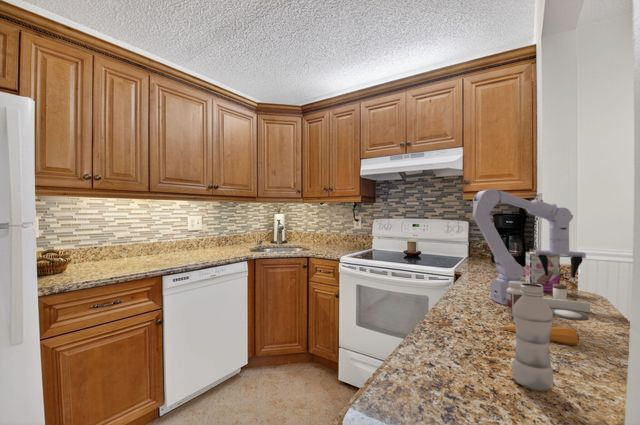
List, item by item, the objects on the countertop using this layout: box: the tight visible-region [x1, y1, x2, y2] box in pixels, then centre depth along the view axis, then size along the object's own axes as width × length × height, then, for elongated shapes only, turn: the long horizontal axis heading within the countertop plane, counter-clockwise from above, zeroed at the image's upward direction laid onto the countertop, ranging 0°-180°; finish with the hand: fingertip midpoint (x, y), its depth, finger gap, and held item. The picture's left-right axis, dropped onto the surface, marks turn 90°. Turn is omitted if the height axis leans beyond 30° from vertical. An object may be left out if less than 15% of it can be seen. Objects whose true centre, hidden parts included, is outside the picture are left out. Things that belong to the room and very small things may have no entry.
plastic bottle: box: [512, 282, 554, 392], centre depth 58 cm, size 6×7×20 cm
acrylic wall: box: [542, 297, 591, 313], centre depth 103 cm, size 1×14×3 cm, turn 60°
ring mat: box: [550, 308, 589, 321], centre depth 97 cm, size 10×10×1 cm
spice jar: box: [552, 283, 568, 300], centre depth 108 cm, size 4×4×7 cm
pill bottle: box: [506, 280, 526, 317], centre depth 97 cm, size 6×6×11 cm
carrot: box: [498, 325, 580, 346], centre depth 81 cm, size 20×4×4 cm, turn 51°
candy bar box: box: [525, 251, 561, 293], centre depth 126 cm, size 11×5×16 cm, turn 77°
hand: (559, 276), depth 108 cm, fingers open, 7 cm apart
